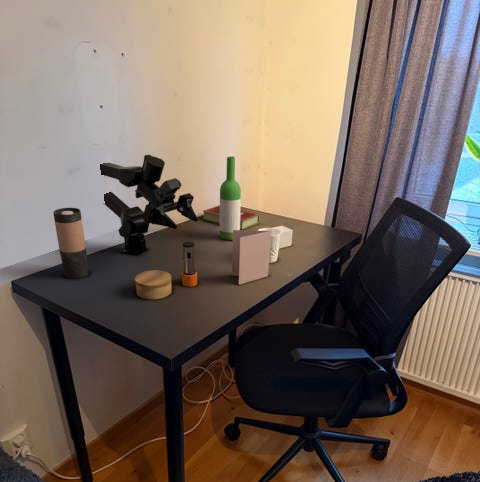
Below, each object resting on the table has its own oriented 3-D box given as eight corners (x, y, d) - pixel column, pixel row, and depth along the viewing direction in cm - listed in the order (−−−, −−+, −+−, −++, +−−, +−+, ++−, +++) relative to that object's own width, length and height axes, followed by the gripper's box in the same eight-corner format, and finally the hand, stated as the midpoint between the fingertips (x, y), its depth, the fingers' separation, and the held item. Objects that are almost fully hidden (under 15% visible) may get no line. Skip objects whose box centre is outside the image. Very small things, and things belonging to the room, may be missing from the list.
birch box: (129, 295, 126) (127, 281, 124) (148, 281, 135) (146, 267, 133) (161, 302, 123) (160, 287, 121) (178, 287, 132) (177, 273, 130)
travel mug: (94, 271, 140) (86, 209, 131) (79, 280, 134) (69, 216, 124) (74, 267, 142) (64, 206, 133) (58, 276, 136) (46, 213, 126)
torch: (182, 280, 136) (180, 240, 130) (197, 280, 137) (196, 240, 131) (182, 286, 132) (180, 246, 126) (197, 286, 133) (196, 246, 127)
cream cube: (281, 240, 170) (282, 225, 167) (291, 245, 166) (292, 230, 163) (268, 243, 167) (269, 228, 164) (279, 248, 162) (280, 232, 160)
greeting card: (267, 275, 141) (270, 229, 134) (269, 285, 135) (272, 238, 128) (231, 274, 141) (232, 229, 134) (232, 284, 134) (233, 237, 127)
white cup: (272, 265, 148) (274, 237, 143) (251, 260, 152) (253, 232, 147) (282, 258, 154) (285, 230, 149) (263, 253, 158) (264, 226, 153)
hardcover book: (220, 213, 199) (220, 204, 197) (258, 223, 188) (259, 213, 186) (202, 219, 190) (202, 210, 188) (242, 230, 179) (242, 220, 177)
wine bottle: (243, 236, 172) (246, 156, 158) (232, 242, 167) (234, 159, 152) (226, 232, 176) (227, 154, 162) (215, 238, 170) (215, 157, 156)
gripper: (136, 177, 128) (172, 209, 124) (181, 168, 141) (215, 196, 137) (128, 208, 135) (162, 239, 131) (172, 196, 149) (204, 224, 144)
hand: (187, 224), depth 136 cm, fingers open, 9 cm apart
